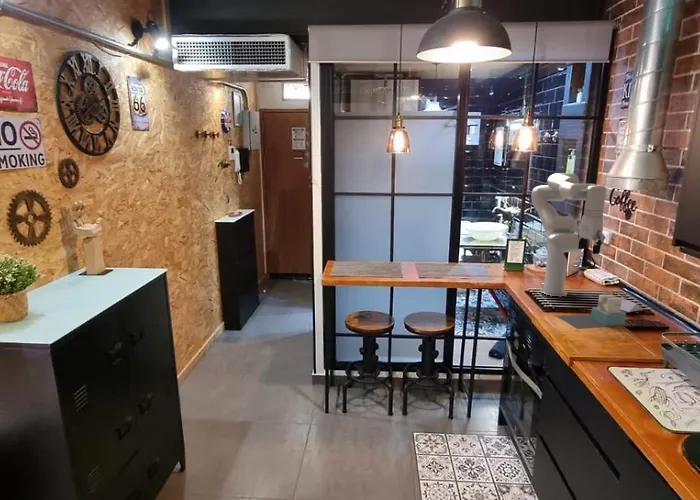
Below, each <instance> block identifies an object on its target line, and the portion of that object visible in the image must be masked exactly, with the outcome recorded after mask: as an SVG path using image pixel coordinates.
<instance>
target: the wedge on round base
mask: <svg viewBox="0 0 700 500" xmlns="http://www.w3.org/2000/svg"><path fill="white" fill-rule="evenodd" d="M621 299H622V302H621V309H620V311H622V312H624V313H626V314H627V313H630V312H637V311H641V310H642V311H643V310H644V309H643V308H642V307H641V306H640V305H639V304H638V303H636V302H634V301H631V300H627V299H624V298H621Z"/></svg>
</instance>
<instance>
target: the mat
mask: <svg viewBox="0 0 700 500" xmlns="http://www.w3.org/2000/svg"><path fill="white" fill-rule="evenodd" d="M556 318H559V319H560V320H562V321H563V322H564V323H565V322H566V323H567V324H569V325H571V326H572V327H573V328H576V329H577V330H581V329H594V328H595V329H598V328H609V327H610V328H614V327H615V328H616V327H629V326H630V325H629V324H627V323H625V324H624V325H614V326H604V325H602V324H600V323H599V322H597V321H595V320H593V319H591V313H584V314H583V313H582V314H567V315H565V314H564V315H556Z"/></svg>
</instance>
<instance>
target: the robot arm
mask: <svg viewBox="0 0 700 500" xmlns="http://www.w3.org/2000/svg"><path fill="white" fill-rule="evenodd" d="M546 181H547V184H544V185H543V184H542V185H538V186H535V187H534V188H533V189H532V191H531V194H530V195H531V198H530V199H531V203H532V205H533V207H534V209H535V211H536V212H537V214H538V216H539V219H540V222H541V224H542V227H543V230H544V231H545V233H546V234H548V236H547V238H546V243H545V244H546V265H545V266H546V267H545V275H544V282H542V283H541V285H542V286H543V288H540V293H541V294H542V293H544V294H546V295H545V296H547V295H550V296H549V297H552V296H559V297H558V298H563V297H562V296H564V297H567V295H568V293H567V291H565V285H566V284H565V283H566V278H567V277H566V275H567V269H568V268H567V265H568V261H567V260H568V259H567V258H566V257H567V256H566V255H565V253H576V252H577V253H578V252H580V251H582V250H585V249H586V246H587V245H586V244H587V240H589V241H593V246H592V251H591V252H592V254H593V255H600V253H601V247H602V245H603V243H604V242H605V239H606V236H605V234H604V232H603V231H604V230H603V229H604V219H603V216H604V210H605V201H606V194H607V187H606V186H605V185H598V184H596V183H580V179H579V177H578V175H577V174H575V173H573V172H572V173H571V172H560V173H559V172H556V173H553V174H551V175H549V176H548V178H547V180H546ZM565 200H569V201H585V203H584V210H583V215H582V216H581V220H580V224H579V225H578V222H577V221H576V219H575V218H574V217H572V216H567V215H566V216H565V215H564V216H561V215H559V214H558V212H557V210H556V208H555V207H554V206H553V205H552V204H551V203H549V202H562V201H565ZM544 294H543V295H544Z"/></svg>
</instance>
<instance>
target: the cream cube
mask: <svg viewBox="0 0 700 500" xmlns="http://www.w3.org/2000/svg"><path fill="white" fill-rule="evenodd" d="M622 299H623V298H622V297H621V298H620V297H618V296H616V295H614V294H599V296H598V303H597V307H598V309H600V310H602V311H604V312H606V313H620V309H621V302H622Z"/></svg>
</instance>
